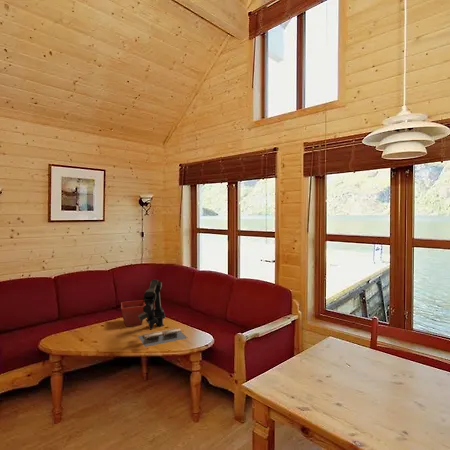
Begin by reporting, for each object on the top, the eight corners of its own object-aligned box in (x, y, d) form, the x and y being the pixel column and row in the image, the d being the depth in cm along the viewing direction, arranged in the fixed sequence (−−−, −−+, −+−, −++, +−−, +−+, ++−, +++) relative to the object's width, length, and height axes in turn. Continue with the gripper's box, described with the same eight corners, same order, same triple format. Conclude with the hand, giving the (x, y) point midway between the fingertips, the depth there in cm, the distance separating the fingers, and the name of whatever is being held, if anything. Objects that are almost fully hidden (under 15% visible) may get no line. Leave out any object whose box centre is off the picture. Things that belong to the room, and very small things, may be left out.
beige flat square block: (164, 335, 246) (164, 333, 247) (176, 333, 251) (176, 331, 251) (167, 332, 238) (167, 330, 239) (180, 330, 243) (180, 328, 243)
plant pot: (121, 320, 281) (121, 301, 280) (144, 318, 287) (143, 299, 286) (121, 328, 263) (121, 308, 262) (145, 325, 269) (145, 305, 268)
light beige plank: (146, 339, 240) (145, 337, 240) (159, 336, 244) (158, 334, 245) (148, 336, 232) (148, 334, 232) (162, 333, 236) (162, 331, 237)
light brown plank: (143, 336, 246) (143, 334, 246) (174, 330, 257) (174, 328, 257) (145, 338, 240) (144, 336, 240) (177, 332, 252) (177, 330, 252)
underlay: (137, 336, 246) (137, 336, 246) (178, 328, 261) (178, 328, 261) (144, 347, 226) (144, 346, 226) (187, 338, 241) (187, 337, 241)
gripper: (136, 306, 238) (136, 327, 239) (142, 313, 221) (142, 336, 222) (151, 304, 243) (151, 324, 244) (158, 311, 226) (158, 333, 227)
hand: (150, 329), depth 234 cm, fingers closed
